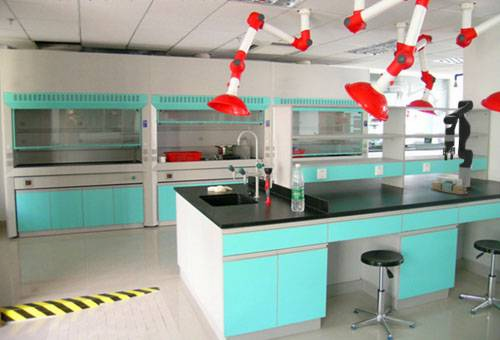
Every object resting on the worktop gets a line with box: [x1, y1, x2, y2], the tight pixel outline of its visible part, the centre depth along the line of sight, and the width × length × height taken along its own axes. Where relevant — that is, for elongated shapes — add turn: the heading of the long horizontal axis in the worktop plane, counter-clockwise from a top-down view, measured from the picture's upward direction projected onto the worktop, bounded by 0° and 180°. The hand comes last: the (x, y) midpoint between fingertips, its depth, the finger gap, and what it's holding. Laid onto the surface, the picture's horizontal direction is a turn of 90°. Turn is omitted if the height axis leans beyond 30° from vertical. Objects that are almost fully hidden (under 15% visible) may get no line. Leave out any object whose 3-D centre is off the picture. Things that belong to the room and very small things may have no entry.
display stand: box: [430, 180, 468, 195], centre depth 350 cm, size 8×27×9 cm, turn 33°
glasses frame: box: [436, 176, 462, 186], centre depth 349 cm, size 3×20×5 cm, turn 33°
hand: (448, 160), depth 351 cm, fingers open, 8 cm apart
